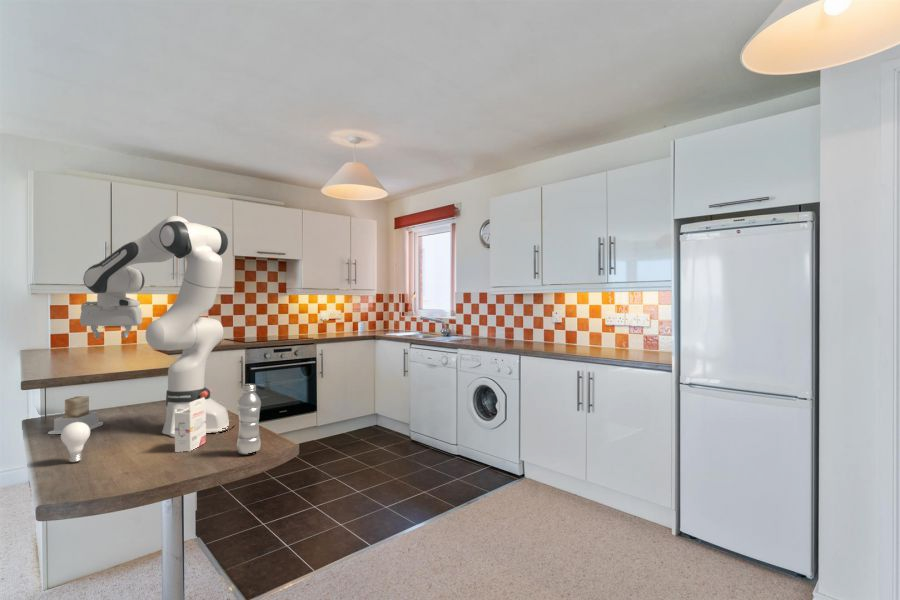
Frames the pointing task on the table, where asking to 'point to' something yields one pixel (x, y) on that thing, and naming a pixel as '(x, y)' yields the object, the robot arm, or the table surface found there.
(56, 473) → the table surface
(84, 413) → the birch peg block
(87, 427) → the lightbulb
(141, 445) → the table surface
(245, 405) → the plastic bottle
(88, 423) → the cartridge dock
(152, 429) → the table surface
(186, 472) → the table surface
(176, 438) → the ink cartridge box
